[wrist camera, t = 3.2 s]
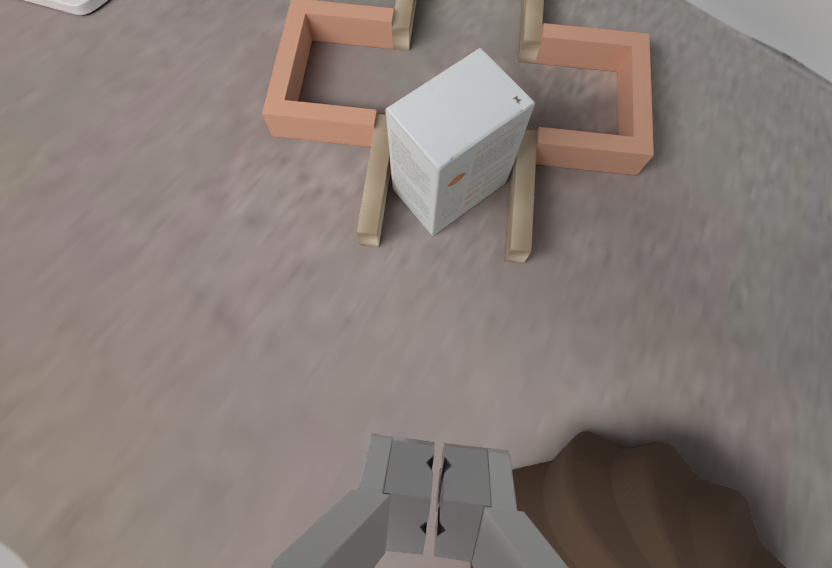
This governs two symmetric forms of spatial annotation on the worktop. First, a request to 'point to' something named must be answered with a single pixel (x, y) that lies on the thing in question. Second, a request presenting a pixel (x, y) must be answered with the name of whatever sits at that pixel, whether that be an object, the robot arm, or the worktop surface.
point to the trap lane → (522, 166)
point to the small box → (456, 139)
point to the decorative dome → (636, 510)
